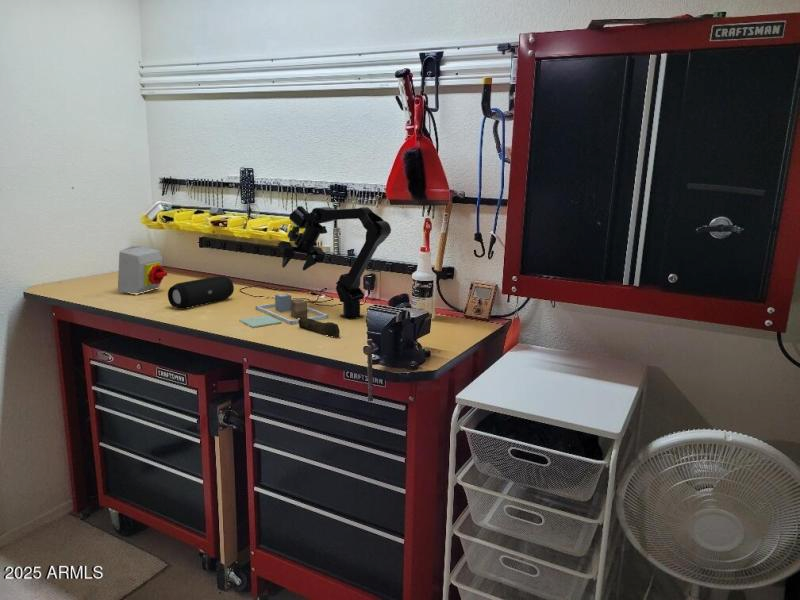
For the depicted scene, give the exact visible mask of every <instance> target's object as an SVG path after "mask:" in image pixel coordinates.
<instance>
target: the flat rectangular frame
mask: <svg viewBox="0 0 800 600" xmlns="http://www.w3.org/2000/svg"><path fill="white" fill-rule="evenodd" d="M270 308H275V303H268V304H261V305H255V310H256V311H259V312H261V313H263V312H264V314H265V315H268V316H270V317H272V316H273V317H272V318H274V317H275V318H274V319H277V320H279V319H280V320H279V321H281V320H282V321H281V322H283V321H284V322H283V323H286V324H288V323H289V324H288V325H290V324H291V325H296V324H295V323H297V324H299V322H298V321H299V319H293V320H291V319H288V318H286V317H284V316H281V314H277V313H275V312H273V311H271V310H268V309H270ZM307 312H309V313H311V314H314V315H316V316H312V317H311V316H310V317H308V318H309V319H312V320H315V321H320V319H321V320H326V318H327V319H329V314H326V313H325V312H321V311H318V310H316V309H313V308H311V307H308V306H307Z"/></svg>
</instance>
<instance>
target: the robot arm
mask: <svg viewBox="0 0 800 600" xmlns="http://www.w3.org/2000/svg"><path fill="white" fill-rule="evenodd" d="M288 219H289V220H290V221H291V222H292V223H293V224H294V225H296V227H298V228H299V229H300V230H302V229H304V230H303V232H297V231H296V230H294V229H290V230H289V231H288V234H287V237H288V239H290V241H292V242H293V244H294V245H295V246H293V245H292V244H291V242H289V241H283V240H281V241H279V242H278V243H277V244H278V245H277V248H278V250H279V251H280V253H281V254H282V261H281V262H282V265H281V267H282V268H285V267H286V266H287V265H288V264H289V262H290V261H291V260H292V256H293V255H294V253H296V254H301V255H302V254H303V255H308V256H307V258H306V260H305V262H304V265H303V267H302V270H303V271H306V270H308V269H309V268H310V267H312V266H314V265H316V264H317V263H321V262H325V259H326V257H327V256H326V253H325V252H324V251H323V249H322V247H320V246H319V247H317V245H318V243H317V242H318V241H317V240H318V239H319V237H320V235H324V234H327V233H328V231H327V230H328V229H327V227H326V225H322V224H326V223H330V222H335V221H337V220H354V219H358V220H359V221H360V222H361V224H362V227H363V228H364V229H365V230H366V232H365V241H364V243H363V246H362V247H361V250H360V251H359V253H358V255H357V256H356V258H355V260H354V262H353V264H352V265H351V268H350V270H349V271H348V272H346V273H344V274H341V275H339V278H338V280H337V282H336V283H335V284H336V286H335V290H336V293H337V295H338V300H339V301H340V303H343V306H342V308H343V311H342V313H341V314H339V315H340V317H342V318H344V319H346V320H353V319H360V318H364V315H363V314H361V300H363V299H364V297H365V293H364V291H363V290H362V289H361V288H360V287H361V279H362V275H363V274H364V272H365V270H366V268H367V267H368V265H369V263H370V261H371V259H372V257H373V256H374V254H375V252H376V251H377V248H378V247H379V246H380V245H381V244H382V243H383V242H384V241H386V239H387V238H389V235H390V234H392V233H391V232H392V228H391V225H390V223H389V222H387V220H384V219H383V218H382V217H381V216H379V215H378V214H377V213H375V212H374V211H373V210H372V209H371V208H370V207H368V206H365V207H358V208H357V207H355V208H339V209H338V208H333V207H328V206H327V207H326V206H323V207H314V208H312V210H311V212H308V210H307V209H305V207H304V206H302V205H298V206H297V208H295V209H294V210H293V211H292V212H291V213H290V214H289V218H288Z"/></svg>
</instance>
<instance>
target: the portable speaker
mask: <svg viewBox="0 0 800 600" xmlns="http://www.w3.org/2000/svg"><path fill="white" fill-rule="evenodd" d="M234 290H235V287H234V283H233V281H232V279H231V278H230V277H227V276H224V275H217V276H215V275H214V276H210V277H205V278H199V279H194V280H189V281H182V282H177V283H175V284H174V285H172V286H170V287H169V289H168V291H167V299H168V302H169V304H170V305H171V306H172V307H173V308H175V309H180V308H185V309H188V308H187V307H190V308H193V307H192V306H194V307H197V306H196V305H199V306H202V305H201V304H203V305H207V304H206V303H208V304H211V303H210V302H212V303H216V302H219V301H220V300H221V301H224V299H225V300H227V299H228V298H230V297H231V296H232V295H233V293H234ZM215 301H216V302H215Z"/></svg>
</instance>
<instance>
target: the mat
mask: <svg viewBox="0 0 800 600" xmlns="http://www.w3.org/2000/svg"><path fill="white" fill-rule="evenodd" d="M238 321H241V322H243V323H245V324H247V325H249V326H251V327H256V328H259V327H258V326H262V327H266V326H265V325H269V326H273V325H272V324H275V325H279V324H278V323H281V324H282V322H283V321H281V320H279V319H277V318H274V317H272V316H270V315H268V314H265V315H261V316H254V317H246V318H241V319H238ZM241 322H240V323H241ZM243 323H242V324H243ZM245 324H244V325H245ZM247 325H246V326H247ZM249 326H248V327H249ZM251 327H250V328H251Z"/></svg>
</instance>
